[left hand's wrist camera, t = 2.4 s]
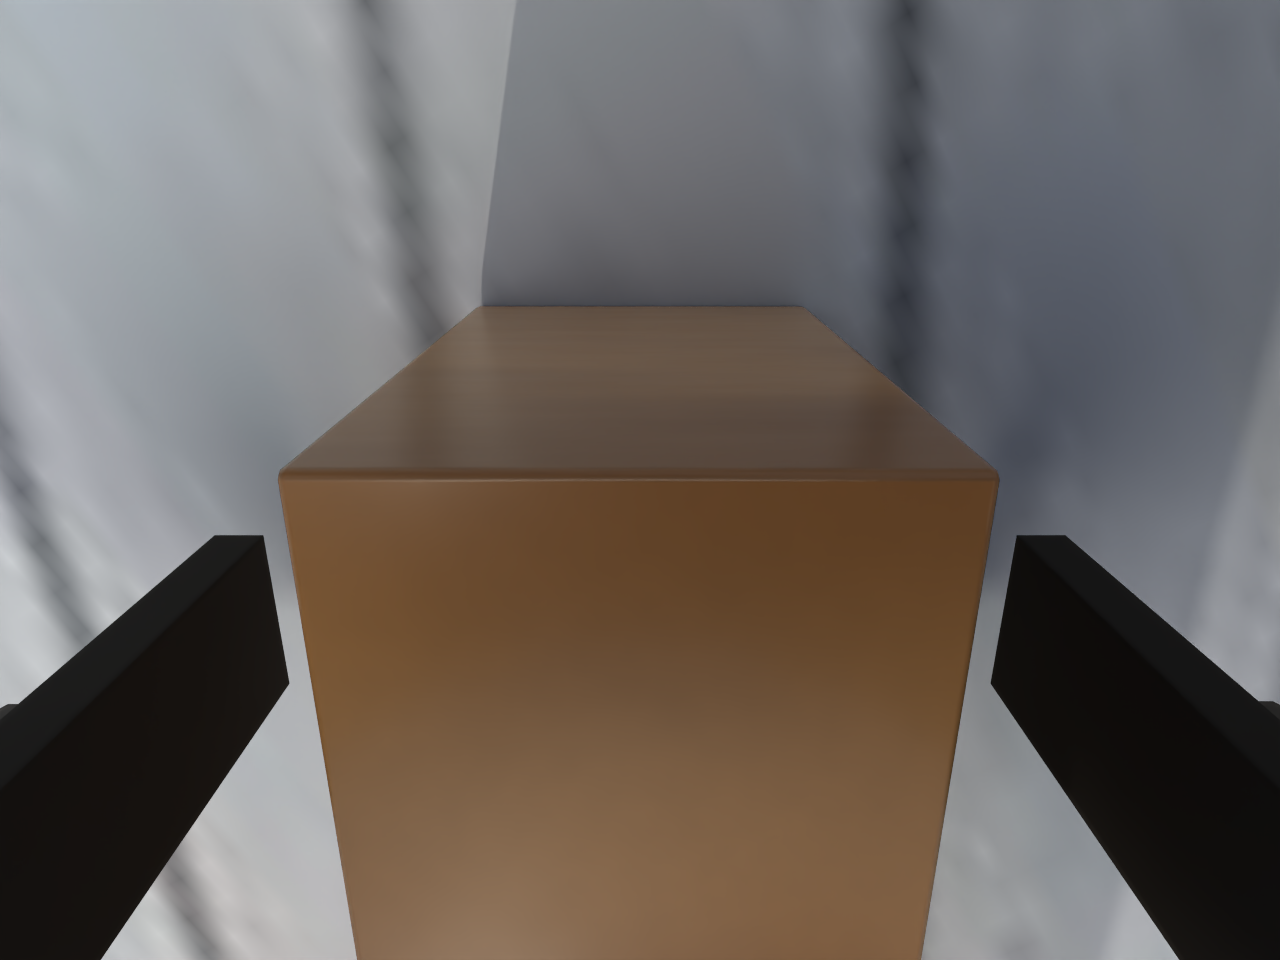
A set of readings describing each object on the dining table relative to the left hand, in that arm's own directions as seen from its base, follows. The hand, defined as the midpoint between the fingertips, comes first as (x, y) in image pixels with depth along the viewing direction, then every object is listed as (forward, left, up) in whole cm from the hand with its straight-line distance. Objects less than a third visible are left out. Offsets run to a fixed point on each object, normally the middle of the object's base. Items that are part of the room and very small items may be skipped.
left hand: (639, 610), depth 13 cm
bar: (-3, +31, -2) cm, 31 cm away
